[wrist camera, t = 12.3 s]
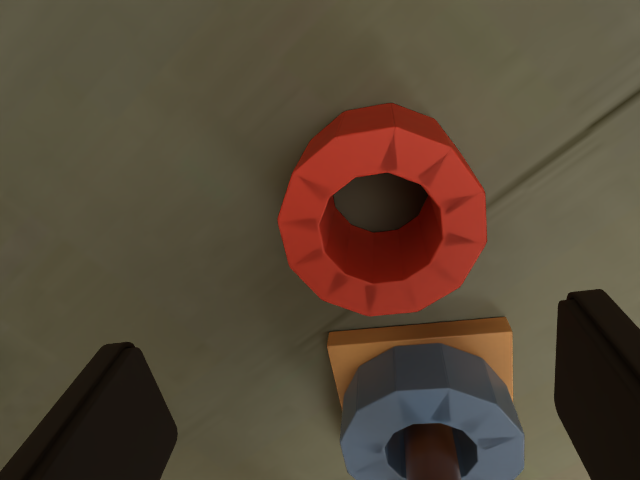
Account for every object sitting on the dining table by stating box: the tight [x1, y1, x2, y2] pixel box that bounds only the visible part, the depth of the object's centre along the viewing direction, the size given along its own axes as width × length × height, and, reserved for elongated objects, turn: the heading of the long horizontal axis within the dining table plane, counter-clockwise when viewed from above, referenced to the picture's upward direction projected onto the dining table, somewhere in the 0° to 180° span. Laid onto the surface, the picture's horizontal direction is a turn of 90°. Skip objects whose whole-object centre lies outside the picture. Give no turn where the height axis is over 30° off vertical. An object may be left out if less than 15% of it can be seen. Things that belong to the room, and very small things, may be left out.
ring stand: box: [327, 317, 513, 480], centre depth 21 cm, size 9×9×8 cm
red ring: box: [277, 103, 487, 316], centre depth 17 cm, size 7×7×4 cm
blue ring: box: [340, 343, 524, 480], centre depth 22 cm, size 8×8×3 cm
